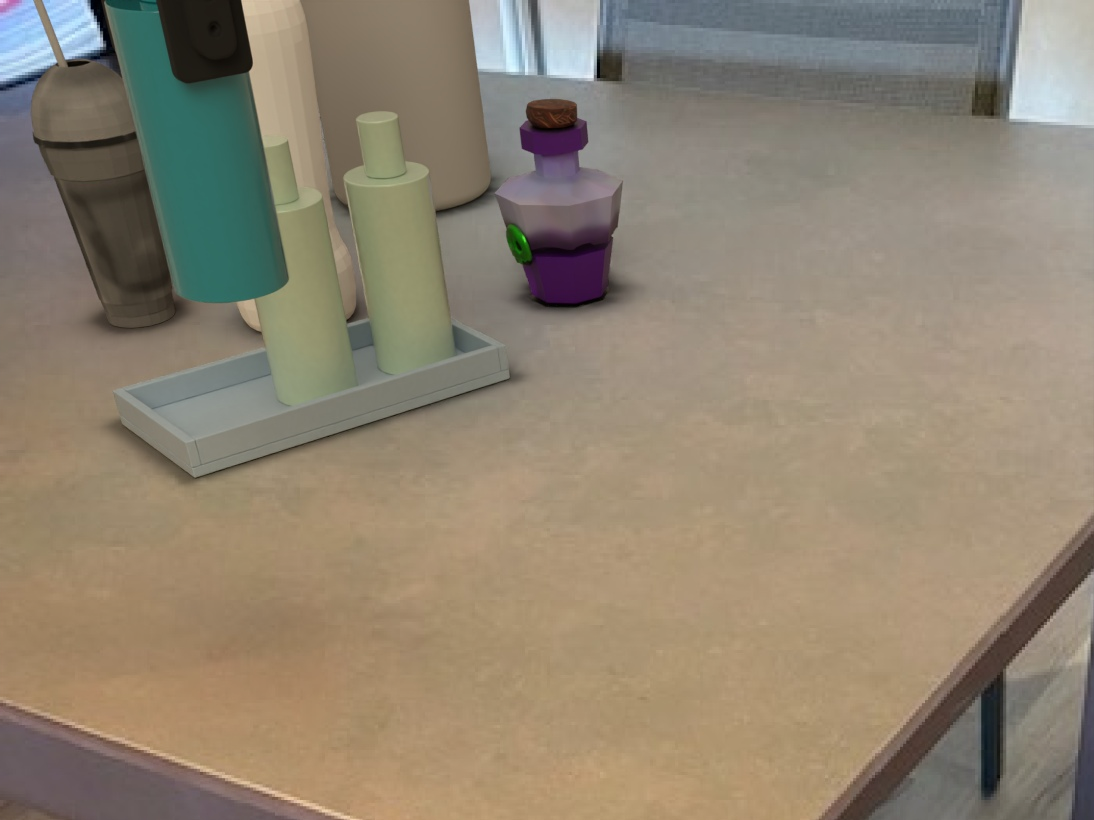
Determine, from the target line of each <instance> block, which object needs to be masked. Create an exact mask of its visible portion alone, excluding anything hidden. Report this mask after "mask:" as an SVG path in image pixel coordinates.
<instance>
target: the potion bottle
mask: <svg viewBox="0 0 1094 820" xmlns="http://www.w3.org/2000/svg"><path fill="white" fill-rule="evenodd" d="M525 107H526V108H525V115H526V120H525V121H524V122H523V123H522V124H521V125H520V126H519V128H518V129H519V137H520V145H521V146H520V147H521V150H523V151H525V152H528V153H530V154H532V155H533V161H534V169H535V170H531V171H528V172H525V173H521V174H517V175H515V176H510V177H507V178H506V180H505V181H504V182H503V183H502V184H500V186H499V188H497V190H496V191H495V192H494V195H495V199H496V201H497V205H498V209H499V211H500V213H501V217H502V220H503V223H504V226H505V229H506V230H505V231H506V232H505V237H506V242H507V245H508V248H509V250H510V252H511V255H512V257H514V259H515V262H516V263H517V264H520V265H522V269H523V271H524V274H525V277H526V280H527V283H528V286H529V289H530V292H531V295H530V296H529V299H530V300H533V301H535V302H536V303H538V304H540V305H542V306H544V307H553V308H554V307H556V308H559V307H560V308H578V307H582V306H583V307H584V306H586V305H589V304H594V303H597V302H600V301H604V300H605V298H606V296H607V294H608V293H609V292H610V290H611V288H610V287H608V286H609V277H610V268H611V261H612V252H613V244H614V236H613V234H614V233H615V231H616V229H617V228H618V227H619V218H620V210H621V203H622V202H621V201H622V195H623V194H622V193H623V186H624V179H622V178H619V177H617V176H615V175H612V174H609V173H607V172H604V171H603V170H599V169H597V168H590V167H582V166H580V156H579V151H582V150H584V149H585V147H586V146H587V145H588V143H589V133H588V122H587V120H584V119H582V118H580V117H578V104H577V103H576V102H575V101H572V100H570V99H563V98H545V99H543V98H542V99H534V100H531V101H529V102H528V103H527V104H526V106H525Z"/></svg>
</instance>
